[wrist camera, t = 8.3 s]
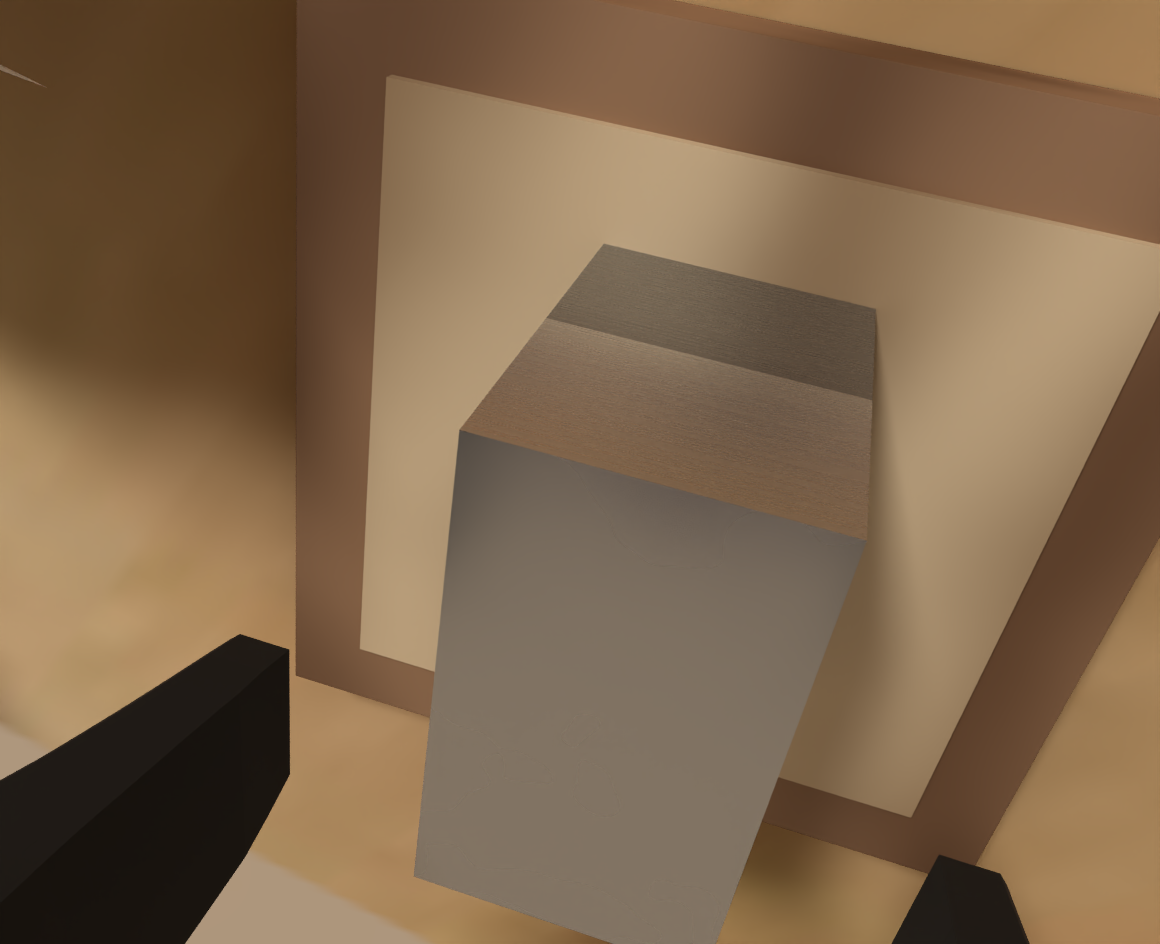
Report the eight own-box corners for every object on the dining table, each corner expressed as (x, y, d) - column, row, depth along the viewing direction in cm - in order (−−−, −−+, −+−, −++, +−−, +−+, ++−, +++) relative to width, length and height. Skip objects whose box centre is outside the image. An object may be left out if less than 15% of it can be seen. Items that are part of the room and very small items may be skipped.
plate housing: (875, 308, 14) (866, 539, 9) (755, 670, 18) (704, 974, 13) (603, 243, 15) (460, 429, 10) (541, 608, 19) (414, 876, 14)
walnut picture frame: (1327, 132, 14) (1379, 163, 12) (959, 824, 21) (964, 893, 20) (345, -66, 15) (290, -60, 14) (328, 631, 23) (291, 681, 22)
